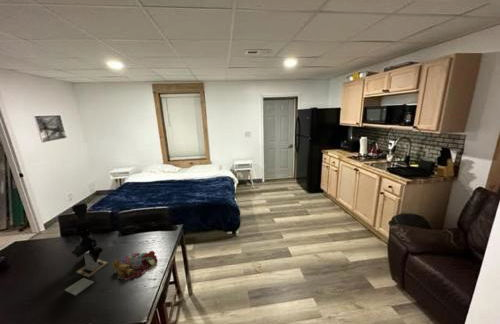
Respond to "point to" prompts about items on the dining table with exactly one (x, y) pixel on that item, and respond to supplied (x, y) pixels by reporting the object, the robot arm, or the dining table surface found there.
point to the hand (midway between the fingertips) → (91, 260)
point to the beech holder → (92, 271)
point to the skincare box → (90, 262)
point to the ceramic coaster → (79, 286)
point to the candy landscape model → (134, 265)
